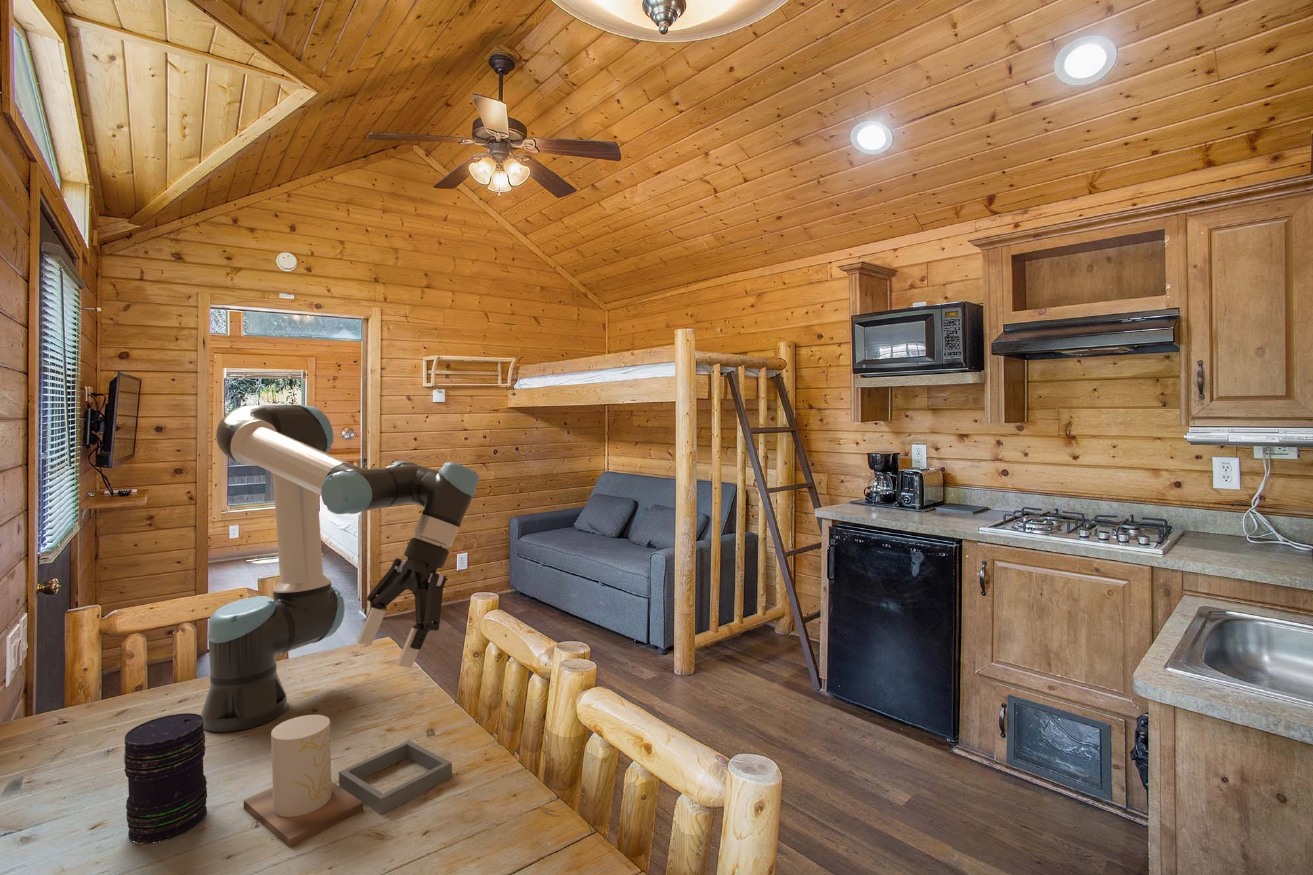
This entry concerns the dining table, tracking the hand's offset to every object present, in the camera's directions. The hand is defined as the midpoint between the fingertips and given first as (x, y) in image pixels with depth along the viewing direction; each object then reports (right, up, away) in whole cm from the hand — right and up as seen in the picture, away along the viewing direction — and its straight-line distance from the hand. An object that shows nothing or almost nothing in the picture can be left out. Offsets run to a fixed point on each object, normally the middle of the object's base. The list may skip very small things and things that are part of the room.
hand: (383, 654), depth 117 cm
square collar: (+5, -19, -7) cm, 21 cm away
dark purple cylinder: (-26, -20, -18) cm, 37 cm away
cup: (-7, -19, -14) cm, 24 cm away
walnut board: (-7, -20, -14) cm, 25 cm away
